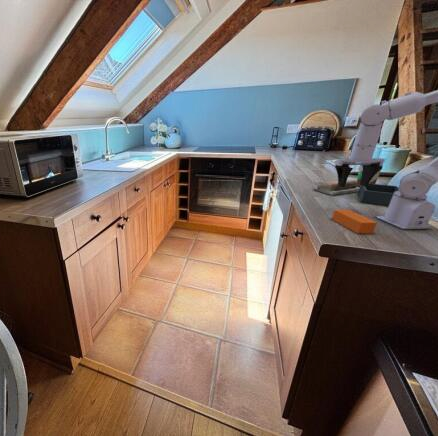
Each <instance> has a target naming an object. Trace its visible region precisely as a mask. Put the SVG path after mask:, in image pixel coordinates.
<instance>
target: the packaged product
mask: <svg viewBox="0 0 438 436" xmlns="http://www.w3.org/2000/svg"><path fill="white" fill-rule="evenodd" d="M357 184H358V182H357V180H355V179H348V178H347V181H346V184H345V186H344V187H341V186H338V179H335V180H334V179H333V180H326V181H325V180H324V181H319V182H318V185H317V187H316V186H315V187H312V190H313V191H316V192H320V193H322V194H326V195H329V196H336V195H346V194H347V195H349V194H352V193H358V192H359V189H360V187H357Z"/></svg>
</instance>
